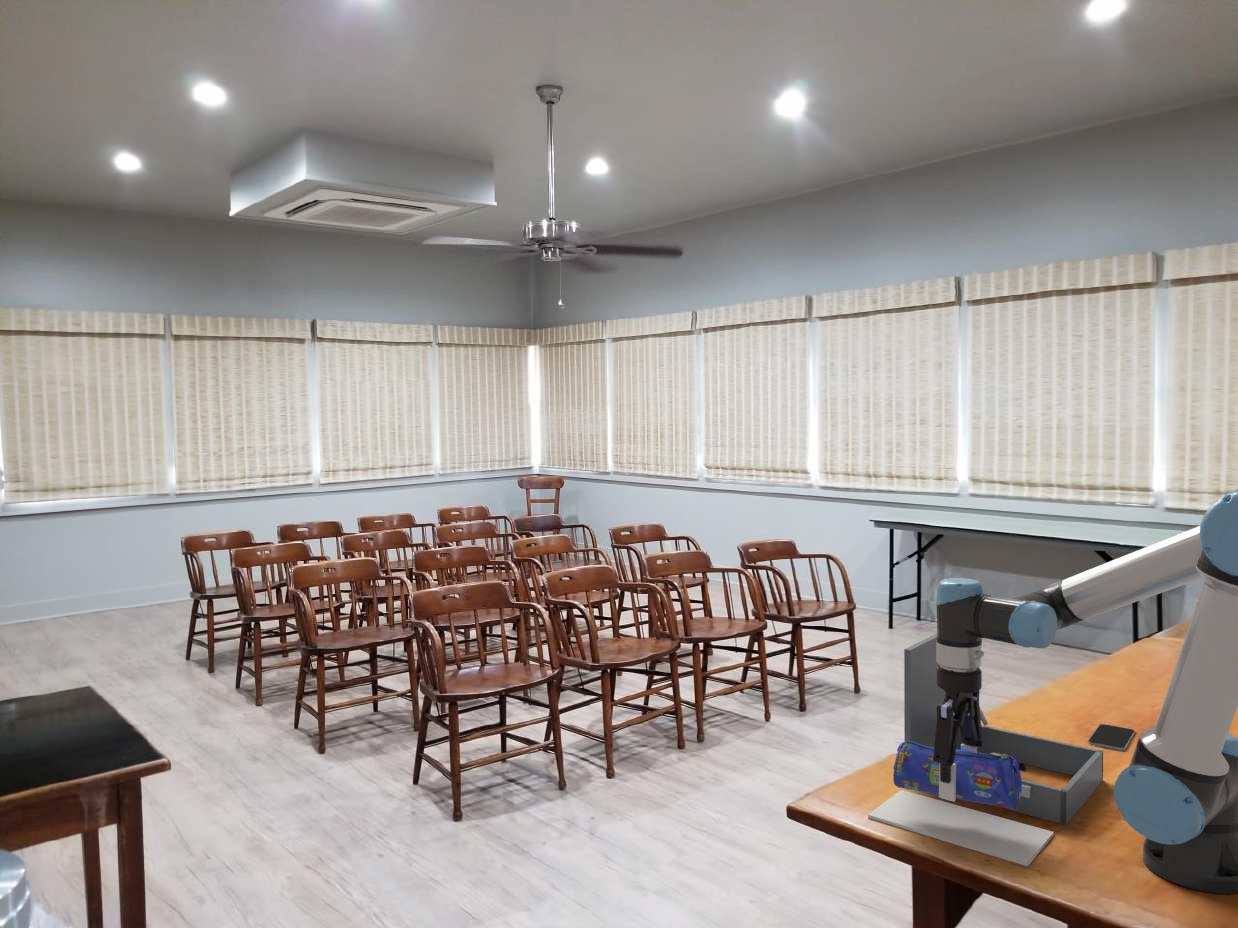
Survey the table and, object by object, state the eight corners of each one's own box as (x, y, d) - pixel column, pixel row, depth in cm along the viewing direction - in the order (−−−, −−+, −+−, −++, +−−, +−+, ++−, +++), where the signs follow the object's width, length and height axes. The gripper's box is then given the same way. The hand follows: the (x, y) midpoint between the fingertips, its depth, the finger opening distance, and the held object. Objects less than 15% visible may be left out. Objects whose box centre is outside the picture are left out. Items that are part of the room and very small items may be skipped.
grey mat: (1027, 866, 147) (1027, 862, 147) (868, 817, 165) (868, 814, 165) (1053, 835, 157) (1053, 831, 157) (900, 792, 176) (900, 789, 176)
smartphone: (1136, 729, 206) (1124, 748, 194) (1136, 733, 206) (1124, 753, 194) (1100, 723, 211) (1086, 741, 199) (1099, 727, 211) (1086, 745, 199)
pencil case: (1026, 800, 160) (1027, 748, 159) (1022, 820, 152) (1022, 765, 152) (899, 778, 170) (899, 728, 170) (889, 795, 163) (889, 743, 162)
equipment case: (1064, 826, 160) (1066, 677, 159) (902, 782, 180) (902, 649, 179) (1102, 780, 180) (1104, 647, 178) (952, 745, 200) (952, 625, 198)
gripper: (956, 684, 149) (955, 816, 150) (1002, 656, 165) (1001, 775, 167) (912, 676, 154) (912, 804, 155) (961, 649, 170) (960, 765, 172)
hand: (958, 789), depth 161 cm, fingers closed on pencil case, 9 cm apart
